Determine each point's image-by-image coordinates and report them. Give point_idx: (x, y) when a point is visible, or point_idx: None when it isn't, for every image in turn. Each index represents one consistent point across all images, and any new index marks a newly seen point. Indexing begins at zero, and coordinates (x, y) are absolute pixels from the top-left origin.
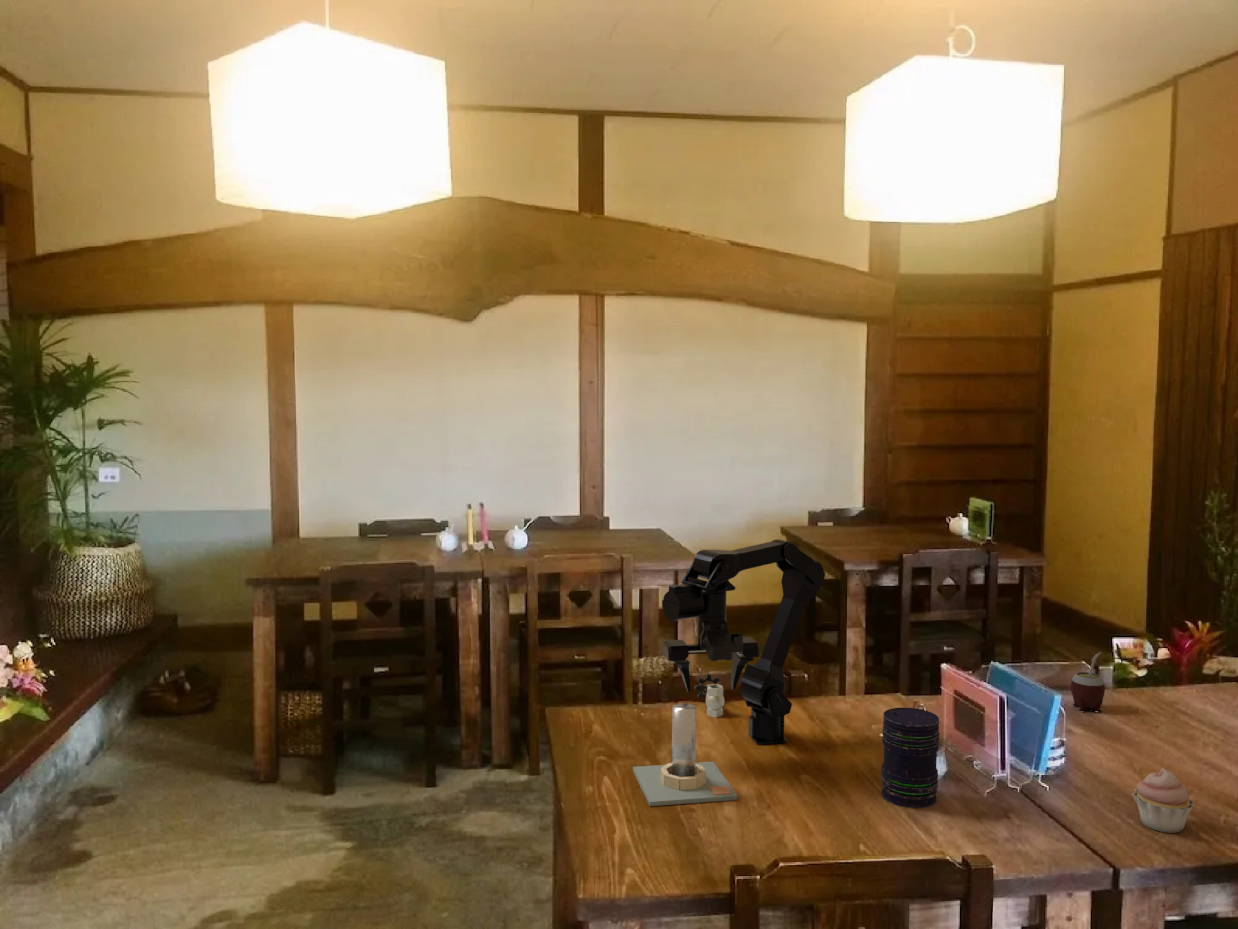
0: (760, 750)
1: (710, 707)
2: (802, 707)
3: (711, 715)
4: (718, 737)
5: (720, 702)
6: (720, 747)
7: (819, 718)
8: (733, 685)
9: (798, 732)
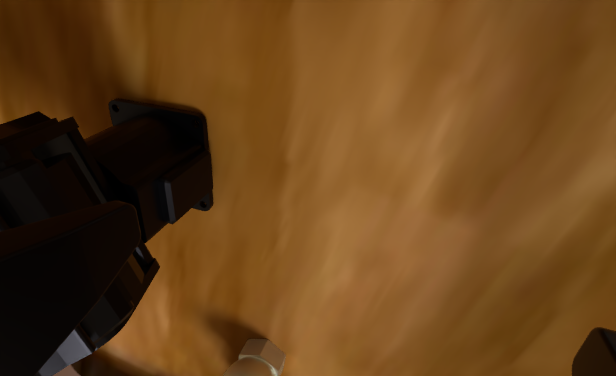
0: (207, 67)
1: (270, 373)
2: None
3: (277, 351)
4: (311, 223)
5: (237, 372)
6: (338, 142)
7: None
8: (93, 221)
9: None
